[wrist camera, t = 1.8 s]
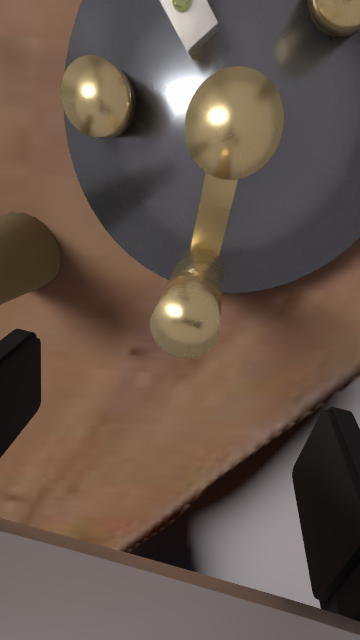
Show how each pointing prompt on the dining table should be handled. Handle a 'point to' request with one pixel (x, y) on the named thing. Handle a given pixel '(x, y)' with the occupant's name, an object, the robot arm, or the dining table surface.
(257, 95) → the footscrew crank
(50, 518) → the dining table surface
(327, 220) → the base
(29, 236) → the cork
